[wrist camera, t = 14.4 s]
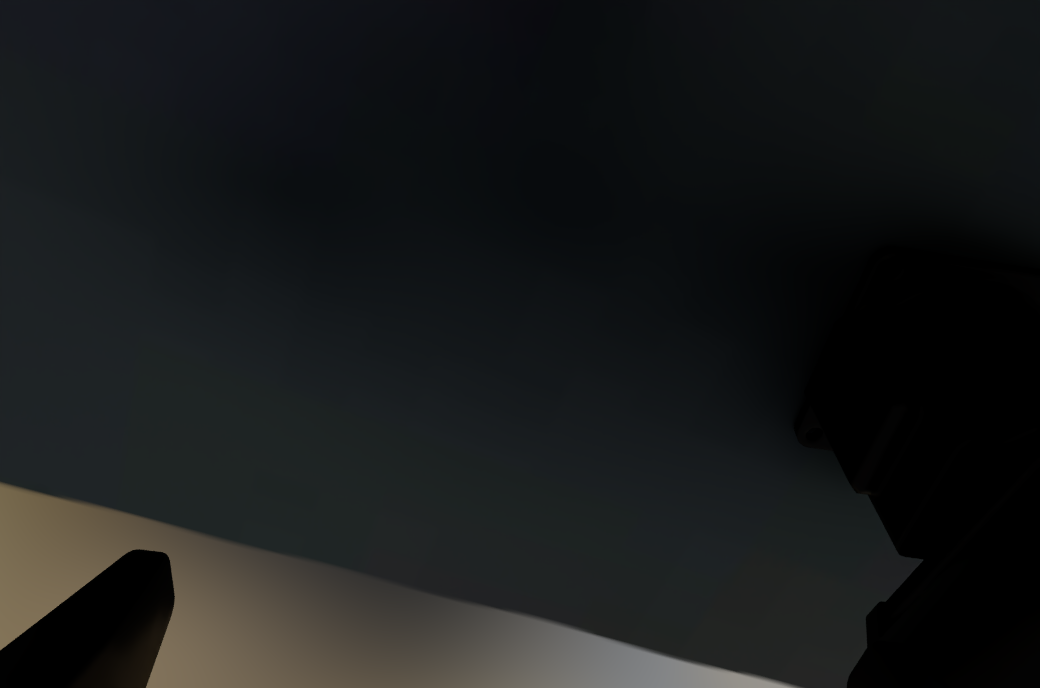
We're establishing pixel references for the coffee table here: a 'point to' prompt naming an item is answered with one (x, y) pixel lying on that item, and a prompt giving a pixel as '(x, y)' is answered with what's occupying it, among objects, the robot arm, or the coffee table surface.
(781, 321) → the coffee table surface
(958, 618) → the robot arm
